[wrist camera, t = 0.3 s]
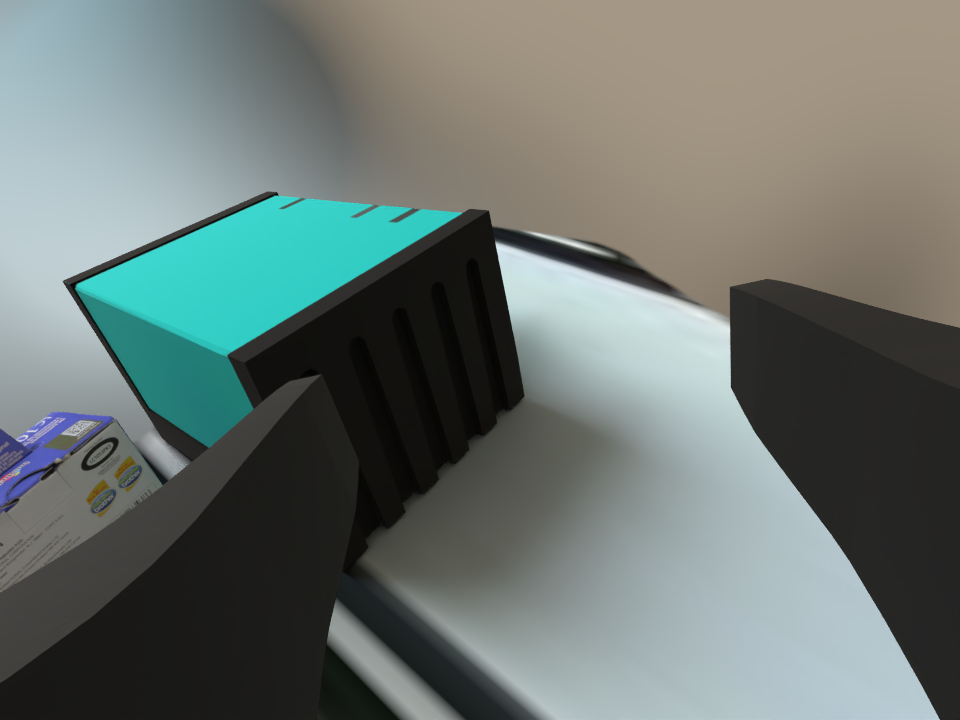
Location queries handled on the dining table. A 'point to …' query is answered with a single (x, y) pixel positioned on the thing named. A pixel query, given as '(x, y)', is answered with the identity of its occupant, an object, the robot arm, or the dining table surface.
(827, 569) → the dining table surface
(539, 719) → the dining table surface
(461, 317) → the electronic device
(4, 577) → the ink cartridge box
